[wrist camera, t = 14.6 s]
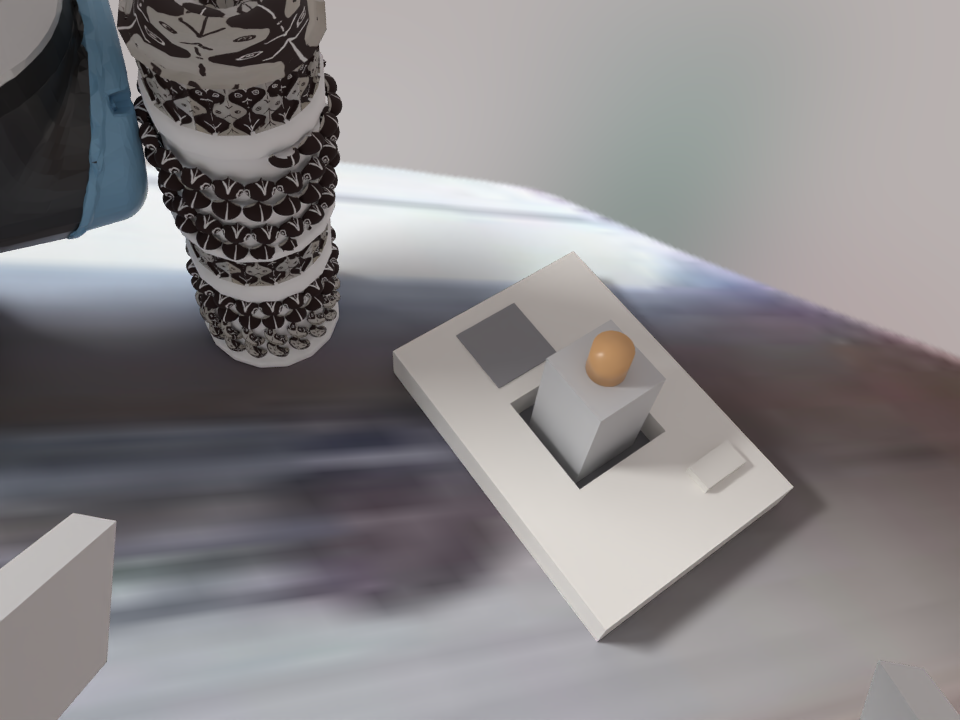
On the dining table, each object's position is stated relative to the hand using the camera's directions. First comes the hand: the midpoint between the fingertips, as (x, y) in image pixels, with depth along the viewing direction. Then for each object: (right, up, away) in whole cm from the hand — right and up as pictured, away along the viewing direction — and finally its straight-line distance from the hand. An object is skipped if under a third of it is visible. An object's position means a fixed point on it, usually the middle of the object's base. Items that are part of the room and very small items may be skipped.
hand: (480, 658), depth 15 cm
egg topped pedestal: (+6, +1, +38) cm, 38 cm away
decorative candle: (-13, +8, +41) cm, 44 cm away
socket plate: (+6, 0, +38) cm, 38 cm away
